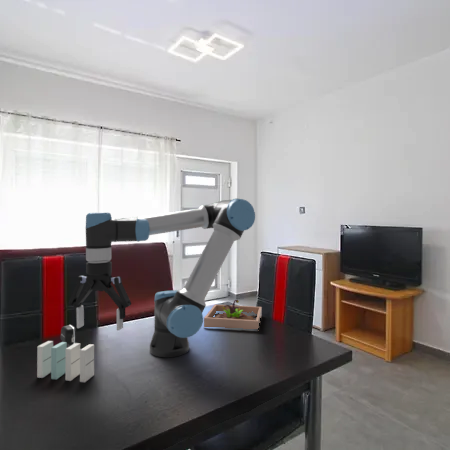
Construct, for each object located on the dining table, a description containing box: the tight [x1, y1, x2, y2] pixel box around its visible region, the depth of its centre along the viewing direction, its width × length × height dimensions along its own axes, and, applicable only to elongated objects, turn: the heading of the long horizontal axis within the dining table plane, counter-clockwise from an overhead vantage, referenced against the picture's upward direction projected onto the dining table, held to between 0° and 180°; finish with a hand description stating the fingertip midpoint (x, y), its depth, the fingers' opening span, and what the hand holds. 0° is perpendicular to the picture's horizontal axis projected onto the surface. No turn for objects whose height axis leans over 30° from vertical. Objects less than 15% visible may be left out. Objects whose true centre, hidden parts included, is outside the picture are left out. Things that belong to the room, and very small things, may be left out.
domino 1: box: [50, 341, 67, 380], centre depth 106 cm, size 2×5×10 cm, turn 170°
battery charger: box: [60, 324, 77, 348], centre depth 120 cm, size 7×4×11 cm, turn 42°
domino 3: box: [79, 343, 95, 383], centre depth 105 cm, size 2×5×10 cm, turn 170°
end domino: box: [36, 340, 54, 379], centre depth 107 cm, size 2×5×10 cm, turn 170°
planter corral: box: [203, 304, 263, 329], centre depth 164 cm, size 25×25×5 cm
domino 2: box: [64, 342, 81, 382], centre depth 105 cm, size 2×5×10 cm, turn 170°
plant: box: [212, 299, 256, 320], centre depth 165 cm, size 20×20×11 cm
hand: (99, 328), depth 104 cm, fingers open, 13 cm apart
